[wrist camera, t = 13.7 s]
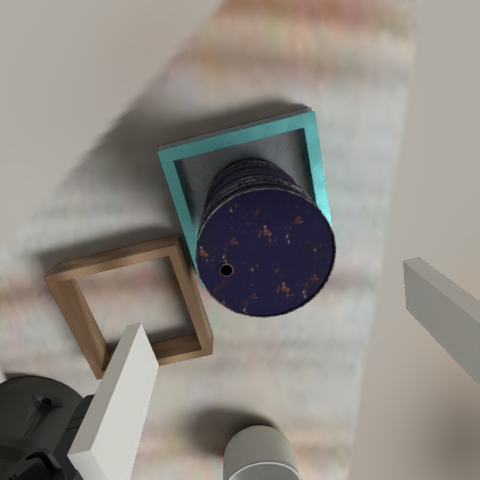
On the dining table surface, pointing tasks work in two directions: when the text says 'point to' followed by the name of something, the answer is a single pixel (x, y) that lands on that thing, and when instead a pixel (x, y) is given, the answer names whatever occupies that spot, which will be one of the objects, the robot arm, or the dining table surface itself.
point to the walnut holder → (66, 272)
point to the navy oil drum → (262, 241)
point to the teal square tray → (238, 147)
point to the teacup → (260, 456)
